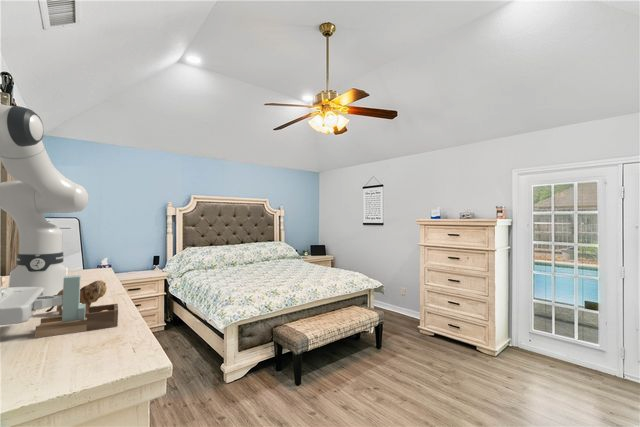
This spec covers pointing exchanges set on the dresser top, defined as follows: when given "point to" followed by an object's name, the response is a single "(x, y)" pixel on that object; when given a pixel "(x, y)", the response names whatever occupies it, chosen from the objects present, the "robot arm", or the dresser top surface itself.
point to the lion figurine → (87, 295)
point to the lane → (59, 326)
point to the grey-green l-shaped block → (72, 300)
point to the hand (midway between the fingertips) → (63, 300)
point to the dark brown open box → (102, 317)
